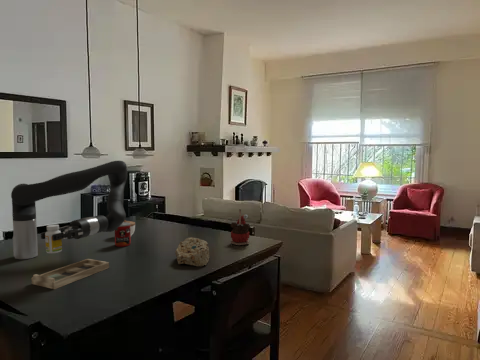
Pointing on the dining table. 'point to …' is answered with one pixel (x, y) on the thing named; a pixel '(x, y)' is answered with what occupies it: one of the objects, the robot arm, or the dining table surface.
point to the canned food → (123, 235)
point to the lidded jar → (131, 227)
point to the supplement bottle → (50, 244)
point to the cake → (240, 231)
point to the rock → (193, 252)
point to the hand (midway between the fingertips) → (47, 237)
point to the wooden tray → (69, 273)
